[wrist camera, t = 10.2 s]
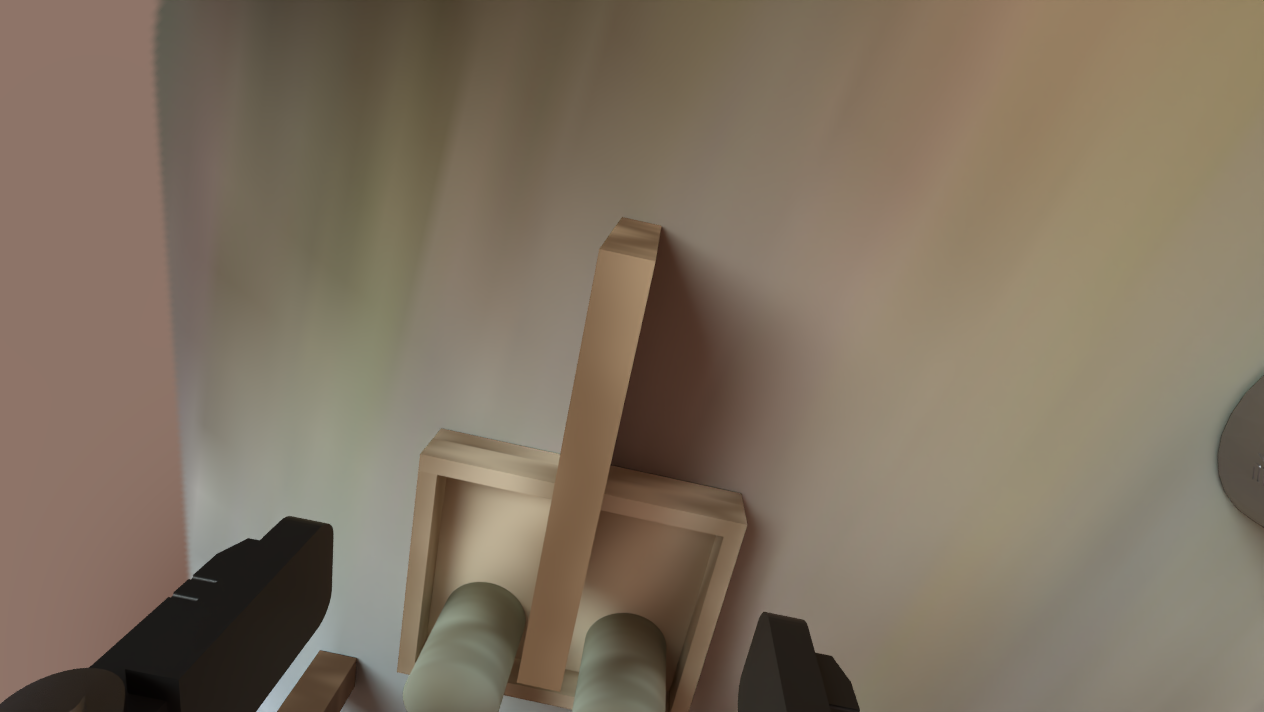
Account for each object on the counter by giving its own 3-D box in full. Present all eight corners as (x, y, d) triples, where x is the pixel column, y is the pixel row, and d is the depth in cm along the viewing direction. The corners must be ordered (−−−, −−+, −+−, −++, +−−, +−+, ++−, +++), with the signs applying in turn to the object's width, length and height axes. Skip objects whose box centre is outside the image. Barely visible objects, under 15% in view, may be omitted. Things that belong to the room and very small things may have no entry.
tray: (813, 259, 25) (872, 308, 17) (681, 690, 33) (683, 855, 25) (469, 183, 25) (381, 201, 17) (417, 633, 32) (338, 782, 25)
